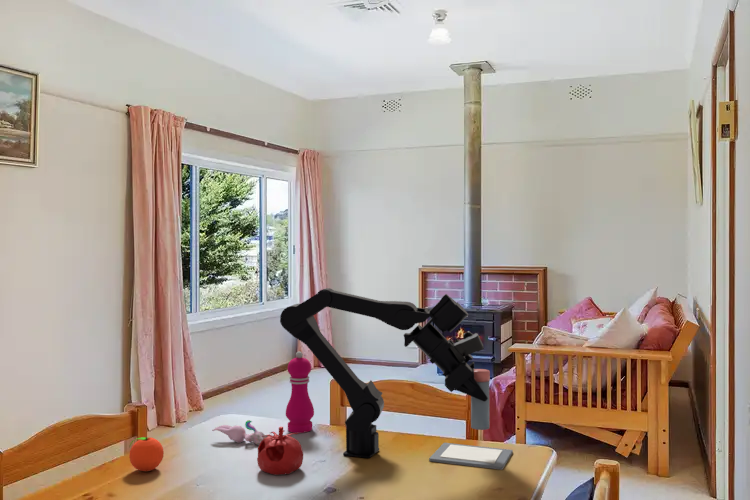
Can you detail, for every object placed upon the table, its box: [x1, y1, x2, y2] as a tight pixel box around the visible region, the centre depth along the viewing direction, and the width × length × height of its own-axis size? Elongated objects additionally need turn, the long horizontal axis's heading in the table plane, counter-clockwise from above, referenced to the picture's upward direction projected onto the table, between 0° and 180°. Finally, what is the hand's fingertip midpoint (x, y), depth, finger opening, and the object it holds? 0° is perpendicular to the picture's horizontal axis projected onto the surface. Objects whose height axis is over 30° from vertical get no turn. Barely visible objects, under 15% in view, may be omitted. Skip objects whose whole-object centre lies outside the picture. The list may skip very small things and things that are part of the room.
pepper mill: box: [285, 351, 315, 434], centre depth 173 cm, size 7×7×20 cm
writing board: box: [428, 442, 513, 471], centre depth 151 cm, size 16×12×1 cm
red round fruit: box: [256, 426, 304, 476], centre depth 143 cm, size 10×10×9 cm
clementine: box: [129, 436, 164, 472], centre depth 144 cm, size 8×7×7 cm
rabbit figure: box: [212, 419, 268, 446], centre depth 163 cm, size 6×6×15 cm
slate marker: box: [470, 368, 491, 431], centre depth 150 cm, size 4×4×12 cm
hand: (486, 397), depth 149 cm, fingers closed on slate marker, 4 cm apart
